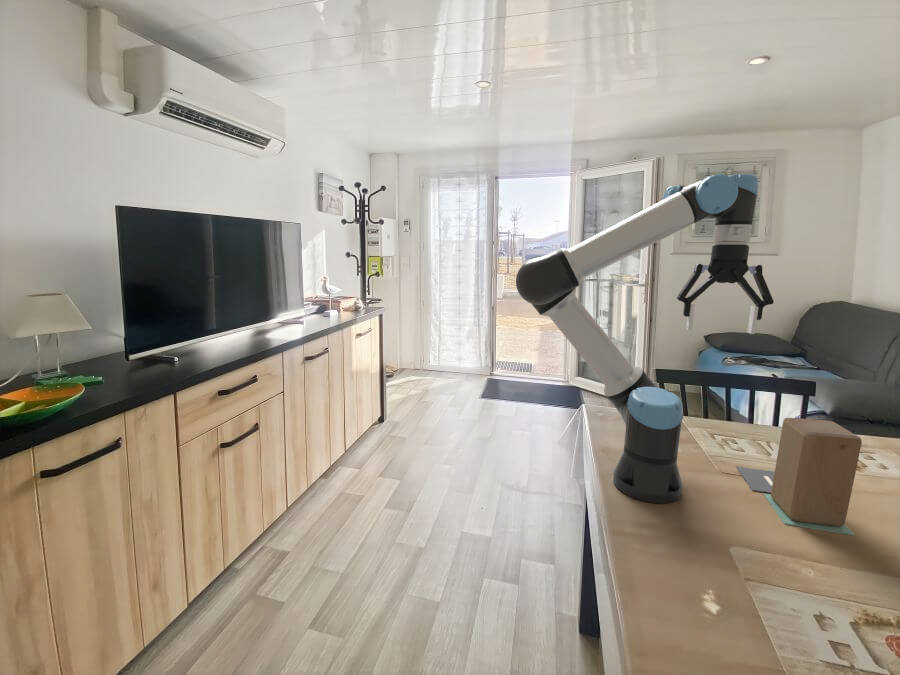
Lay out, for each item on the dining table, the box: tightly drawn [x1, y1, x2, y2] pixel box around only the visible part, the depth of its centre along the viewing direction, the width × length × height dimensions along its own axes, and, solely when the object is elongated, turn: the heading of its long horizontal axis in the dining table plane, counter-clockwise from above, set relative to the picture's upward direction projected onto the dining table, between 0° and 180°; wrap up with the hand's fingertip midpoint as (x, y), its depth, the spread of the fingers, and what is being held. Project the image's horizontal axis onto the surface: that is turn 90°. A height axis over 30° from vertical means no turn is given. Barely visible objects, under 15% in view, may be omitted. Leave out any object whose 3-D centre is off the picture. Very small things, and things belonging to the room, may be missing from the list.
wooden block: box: [771, 417, 863, 526], centre depth 94 cm, size 10×10×20 cm
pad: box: [762, 492, 855, 536], centre depth 96 cm, size 12×12×1 cm
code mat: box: [736, 466, 775, 494], centre depth 108 cm, size 18×12×1 cm, turn 72°
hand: (719, 331), depth 109 cm, fingers open, 13 cm apart
